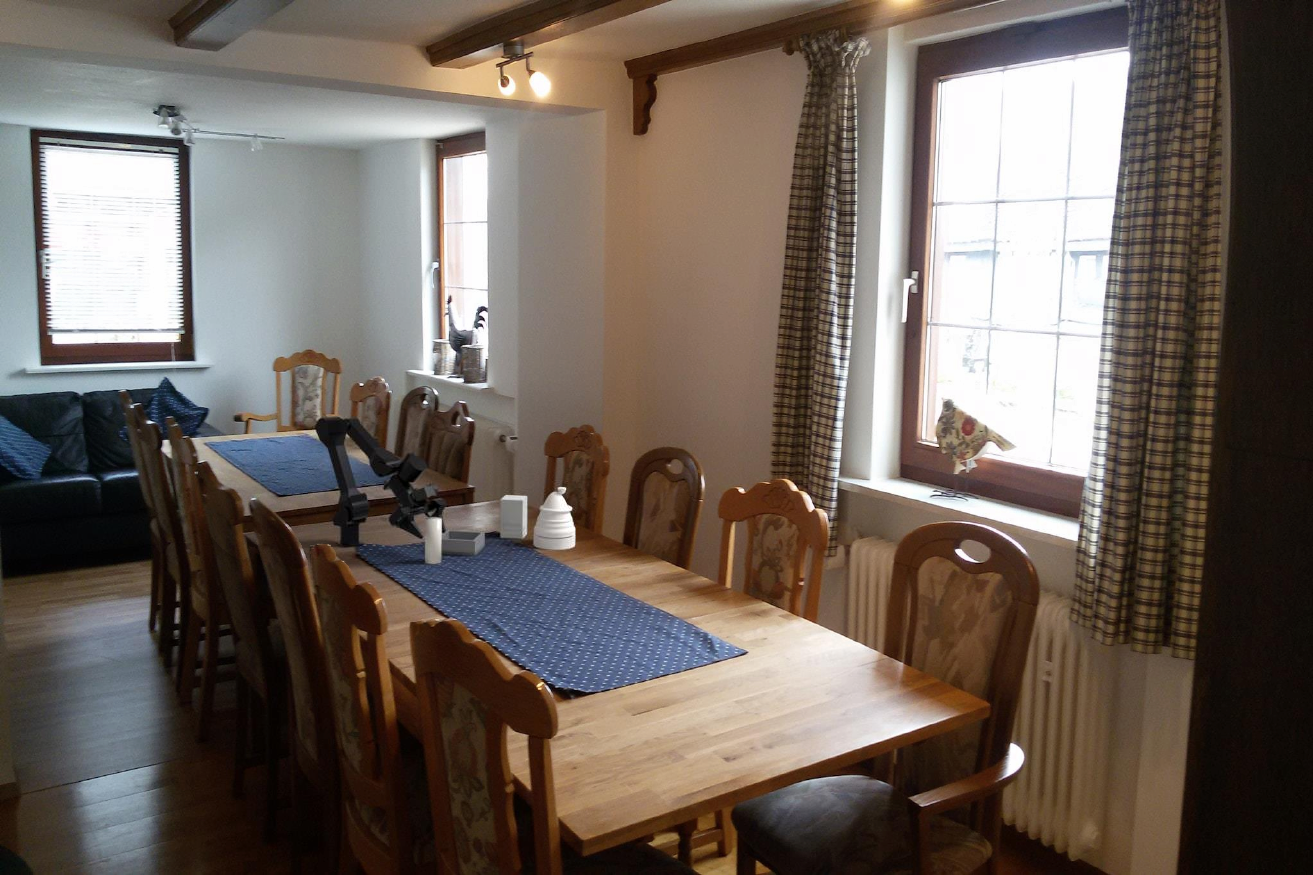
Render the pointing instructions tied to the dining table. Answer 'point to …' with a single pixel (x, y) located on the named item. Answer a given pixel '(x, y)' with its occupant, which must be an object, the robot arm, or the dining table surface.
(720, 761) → the dining table surface
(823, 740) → the dining table surface
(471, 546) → the grey crate
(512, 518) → the supplement box
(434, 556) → the ceramic pillar
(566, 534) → the honey pot
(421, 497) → the robot arm
